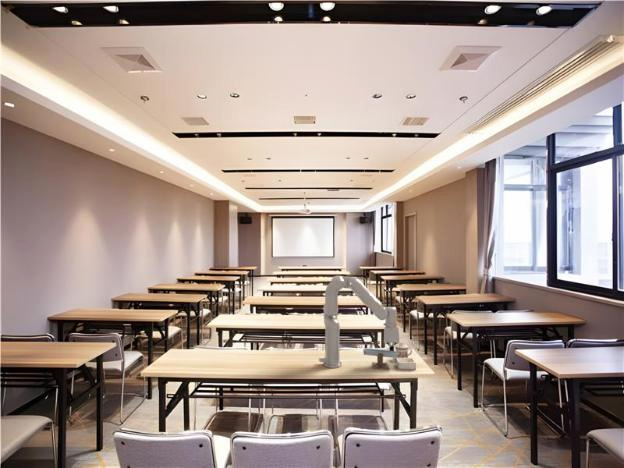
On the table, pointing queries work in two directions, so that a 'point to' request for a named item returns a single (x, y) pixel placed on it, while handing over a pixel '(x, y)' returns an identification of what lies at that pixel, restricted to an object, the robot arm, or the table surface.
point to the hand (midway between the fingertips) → (391, 351)
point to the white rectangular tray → (406, 363)
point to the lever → (380, 352)
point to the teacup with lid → (402, 350)
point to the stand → (380, 363)
